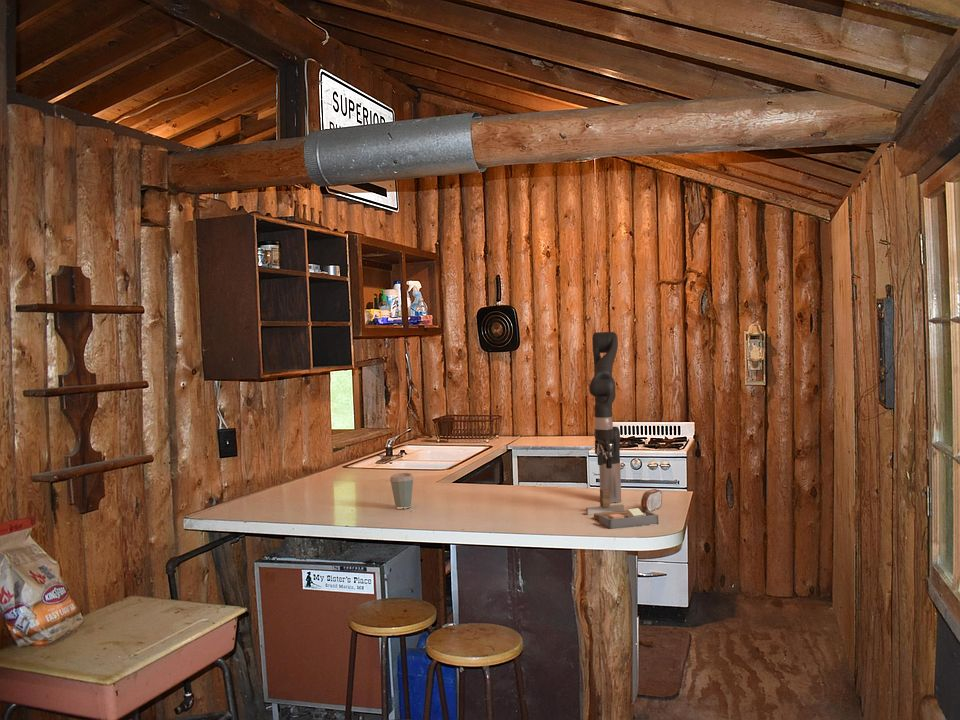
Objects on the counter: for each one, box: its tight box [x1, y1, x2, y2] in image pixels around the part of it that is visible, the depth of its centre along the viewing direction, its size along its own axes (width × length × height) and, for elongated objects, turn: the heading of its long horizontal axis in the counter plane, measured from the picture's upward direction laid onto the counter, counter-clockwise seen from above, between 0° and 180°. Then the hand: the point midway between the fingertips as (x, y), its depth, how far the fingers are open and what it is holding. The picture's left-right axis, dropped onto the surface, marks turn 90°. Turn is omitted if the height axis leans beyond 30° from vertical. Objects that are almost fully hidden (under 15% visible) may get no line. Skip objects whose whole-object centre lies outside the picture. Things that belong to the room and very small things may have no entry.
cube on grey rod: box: [585, 488, 625, 516], centre depth 317 cm, size 3×16×10 cm, turn 105°
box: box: [599, 511, 659, 530], centre depth 297 cm, size 9×20×4 cm, turn 105°
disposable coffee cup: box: [389, 472, 414, 508], centre depth 340 cm, size 11×11×15 cm
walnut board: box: [593, 509, 628, 522], centre depth 306 cm, size 10×17×2 cm, turn 105°
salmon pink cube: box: [608, 514, 624, 519], centre depth 297 cm, size 4×4×3 cm
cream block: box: [627, 507, 645, 517], centre depth 300 cm, size 4×4×3 cm
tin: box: [640, 488, 663, 512], centre depth 320 cm, size 15×3×8 cm, turn 141°
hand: (604, 466), depth 317 cm, fingers open, 8 cm apart
